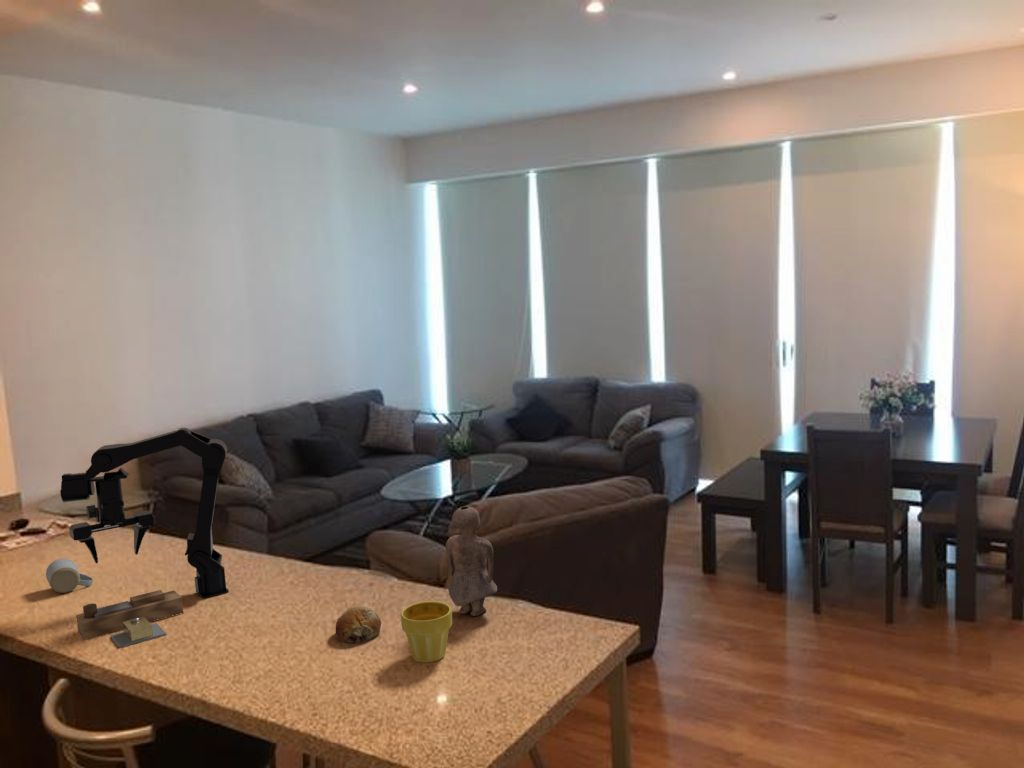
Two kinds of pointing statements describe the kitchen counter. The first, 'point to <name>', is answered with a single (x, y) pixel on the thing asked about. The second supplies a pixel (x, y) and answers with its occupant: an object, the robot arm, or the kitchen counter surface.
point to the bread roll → (358, 625)
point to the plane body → (127, 612)
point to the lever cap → (137, 628)
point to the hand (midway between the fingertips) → (116, 558)
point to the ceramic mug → (66, 576)
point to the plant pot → (427, 629)
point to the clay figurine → (469, 563)
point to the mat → (124, 641)
